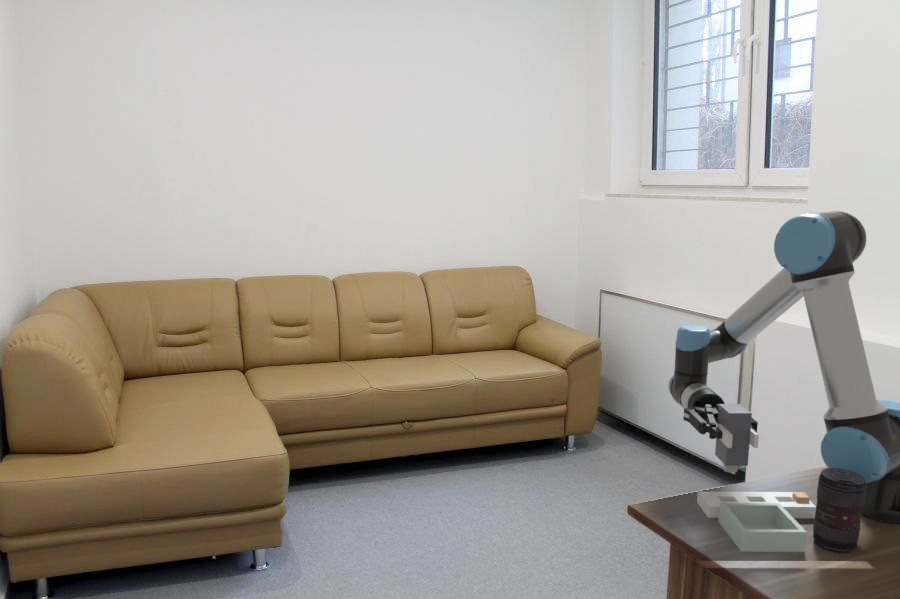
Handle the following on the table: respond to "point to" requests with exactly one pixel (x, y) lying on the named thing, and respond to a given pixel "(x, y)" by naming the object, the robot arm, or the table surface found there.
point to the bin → (762, 527)
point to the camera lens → (839, 509)
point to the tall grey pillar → (734, 436)
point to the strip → (790, 501)
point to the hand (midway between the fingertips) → (743, 441)
